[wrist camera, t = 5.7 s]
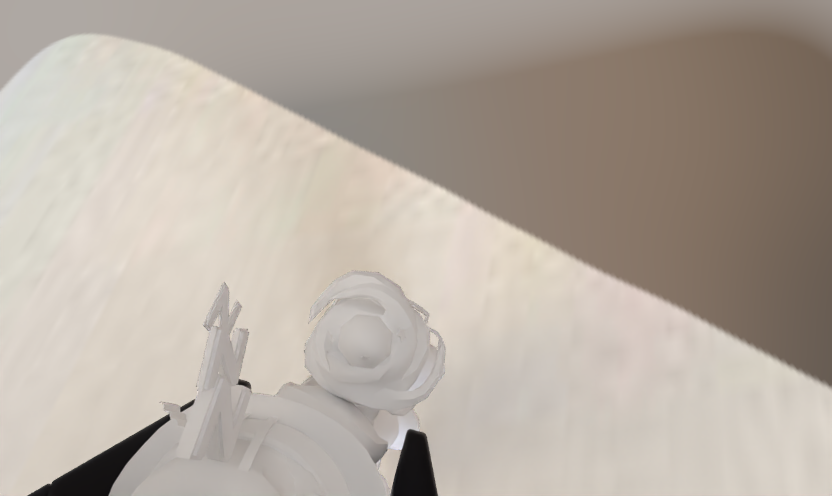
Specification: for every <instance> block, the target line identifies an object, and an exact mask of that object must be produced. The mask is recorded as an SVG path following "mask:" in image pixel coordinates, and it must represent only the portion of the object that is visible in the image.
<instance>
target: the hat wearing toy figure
mask: <svg viewBox="0 0 832 496" xmlns="http://www.w3.org/2000/svg"><path fill="white" fill-rule="evenodd" d="M334 299H335V301H334V303H333V304H332V306H331V307H330V308H328V309H327V311H326V312H325V314H324V315H323V316H322V318H321V319H320V321H319V322H318V324H317V325H316V327H315V328H314V330H313V332H312V334H311V335H310V337H309V339H308V340H307V342H306V343H305V350H304V353H305V368H306V369H307V370H308V371H309V373H310V374H311V375H312V376H311V377H309V378H308V379H307V380H305V381H304V382H303V383H302V384H301V385H296V384H294V383H292V382H289V383H286V384H284V385H283V386H282V387H281V389H280V390H279V392H278V393H277V394H276V395H275V396H271V395H265V394H260V393H252V392H250V391H251V389H249V388H247V387H245V386H243V385H236V384H238V380H239V376H240V371H241V367H242V362H243V358H244V353H245V349H246V344H247V340H248V335H249V332H248V329H241V328H236V330H234V332H233V336H232V340H231V341H230V337H229V335H230V333H231V330H232V328H233V326H234V324H235V321H236V319H237V317H238V314H239V312H240V310H241V308H242V306H241V305H240V303H239V302H238V300H236V302H235V304H234V306H233V308H232V310H231V313H230V315H229V289H228V287H227V285H226V284H225V282H223V284H222V286H221V288H220V290H219V292H218V294H217V296H216V298H215V300H214V302H213V304H212V306H211V308H210V311H209V313H208V315H207V317H206V319H205V321H204V323H203V326H204V327H205V328H206V329H207V330H208V331H210V332H209V336H208V340H207V344H206V348H205V353H204V357H203V361H202V365H201V369H200V373H199V377H198V382H197V386H196V387H198V389H197V391H198V393H197V396H196V399H195V401H194V404H193V405H192V406H191V407H189V408H187V409H186V410H184V411H182V412H180V406H178V405H176V404H171V403H165V402H160V403H162V404H164V411H165V412H168V413H169V414H170V419H171V420H170V421H168V422H167V423H166V424H164V425H163V426H162V427H160V428H159V429H158V430H157V431H156V432H155V433H154V434H153V435H152V436H151V437H150V438H149V439H148V440H147V441H146V442H145V444H144V445H143V446H142V447H141V448H140V449H139V450H138V451H137V453H136V454H135V455H134V456H133V457H132V458H131V459H130V460H129V462H128V463H127V464H126V466H125V467H124V469H123V470H122V472H121V473H120V475H119V476H118V478H117V479H116V481H115V483H114V484H113V486H112V489H111V491H110V493H109V496H390V488H389V486H388V483H387V481H386V479H385V478H384V477H383V476H382V475H381V473H380V472H379V471H378V470H379V466H380V461H381V458H382V457H383V455H384V454H385V452H386V451H387V449H388V448H389V449H394V450H401V449H402V447H403V443H404V440H405V436H406V432H407V430H409V429H413V430H416V431H419V430H420V423H419V418H418V416H417V414H416V412H415V411H414V410H413V408H414V406H415V405H416V404H418V403H419V402H421V401H423V400H424V399H426V398H428V396H429V395H430V393H431V392H432V390H433V389H434V387H435V386H436V384H437V383H438V381H439V380H440V379H441V378H442V377H443V376H444V375H445V366H444V362H445V344H444V341H443V338H442V337H441V336H440V334H439V333H438V332H437V331H435V330H433V329H431V328H429V327H427V325H426V324H427V322H428V318H429V313H428V312H427V311H426V310H424V309H423V308H422V307H420V306H419V305H417V304H416V303H414V302H413V301H411V300H409V299H407V298H406V296H405V294H404V293H403V291H402V289H401V287H400V286H398V285H397V284H395V283H394V282H392V281H391V280H389V279H388V278H386V277H385V276H383V275H382V274H380V273H379V272H365V271H350V272H348V273H347V274H345V275H343V276H341V277H339V278H338V279H336V280H334V281H333V282H332V283H331V284H330V285H329V286H328V287H327V288H326V289H325V291H324V292H323V293H322V294H321V296H320V297H319V298H318V299H317V301H316V302H315V303H314V304H313V306H312V307H311V311H310V317H309V323H310V322H311V321H312V320H313V319H314V318H315V317H316V316H317V314H318V313H320V312H321V311H322V310H323V309H324V308H325V307H326V306H327V305H328V304H329V303H330V302H331V301H333V300H334ZM413 308H414V309H416V310H417V311H419V312H421V313H423V314H424V315H425V316H426V317H425V320H423V318H422V317H421V315H420V314H419V313H418V312H417V311H416V310H414V309H413ZM218 313H219V326H213V324H214V322H215V320H216V318H217V316H218ZM309 323H308V324H309ZM430 331H431V332H432V333H434V334H435V335H436V336H437V337H438V338H439V342H438V349H437V348H436V347H434V346H433V345H431V344H430ZM218 373H219V374H218Z"/></svg>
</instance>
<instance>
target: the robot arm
mask: <svg viewBox="0 0 832 496" xmlns="http://www.w3.org/2000/svg"><path fill="white" fill-rule="evenodd" d="M236 385H243V386H245V387H247V388H249V389H251V385H250V383H249V382H247V381H244V380H240V379H239V380H238V384H236ZM250 392H251V391H250ZM194 401H195V399H194V400H192V401H191V402H189V403H187V404H186V405H184V406H182V407H180V412H182V411H184V410H186V409H187V408H189V407H191V406H192V405H193V404H194ZM170 420H171V419H170V414H168V415H166V416H165V417H163V418H161V419H160V420H158V421H156V422H154V423H153V424H151V425H149V426H147V427H146V428H144V429H142V430H141V431H139V432H137V433H135V434H134V435H132V436H130V437H128V438H127V439H125V440H123V441H121V442H120V443H118V444H116V445H115V446H113V447H111V448H109V449H108V450H106V451H104V452H102V453H101V454H99V455H97V456H95V457H94V458H92V459H90V460H89V461H87V462H85V463H83V464H82V465H80V466H78V467H76V468H75V469H73V470H71V471H70V472H68V473H66V474H64V475H63V476H61V477H59V478H57V479H56V480H54V481H53V482H52V484H47V485H45V486H43V487H42V488H40V489H38V490H36V491H35V492H33V493H31V494H29V495H28V496H109V493H110V491H111V489H112V486H113V484H114V483H115V481H116V479H117V478H118V476H119V475H120V473H121V472H122V470H123V469H124V467H125V466H126V464H127V463H128V462H129V460H130V459H131V458H132V457H133V456H134V455H135V454H136V453H137V451H138V450H139V449H140V448H141V447H142V446H143V445H144V444H145V442H146V441H147V440H148V439H149V438H150V437H151V436H152V435H153V434H154V433H155V432H156V431H157V430H158V429H159V428H160V427H162V426H163V425H164V424H166V423H167V422H168V421H170ZM390 496H438V494H437V488H436V483H435V478H434V472H433V467H432V462H431V456H430V451H429V446H428V441H427V436H426V434H425V433H423V432H420V431H416V430H413V429H409V430H407V432H406V436H405V440H404V443H403V447H402V451H401V455H400V458H399V462H398V466H397V470H396V473H395V478H394V482H393V486H392V490H391V494H390Z"/></svg>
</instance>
